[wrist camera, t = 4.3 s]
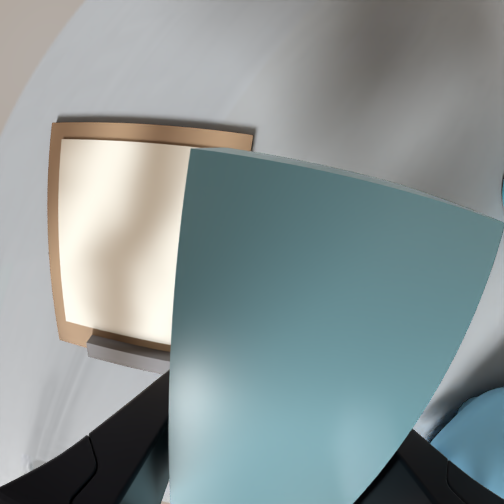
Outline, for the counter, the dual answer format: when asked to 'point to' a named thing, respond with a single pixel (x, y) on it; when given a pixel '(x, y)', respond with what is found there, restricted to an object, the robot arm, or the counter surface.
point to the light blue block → (309, 325)
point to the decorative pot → (477, 440)
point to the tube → (503, 194)
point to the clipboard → (120, 233)
